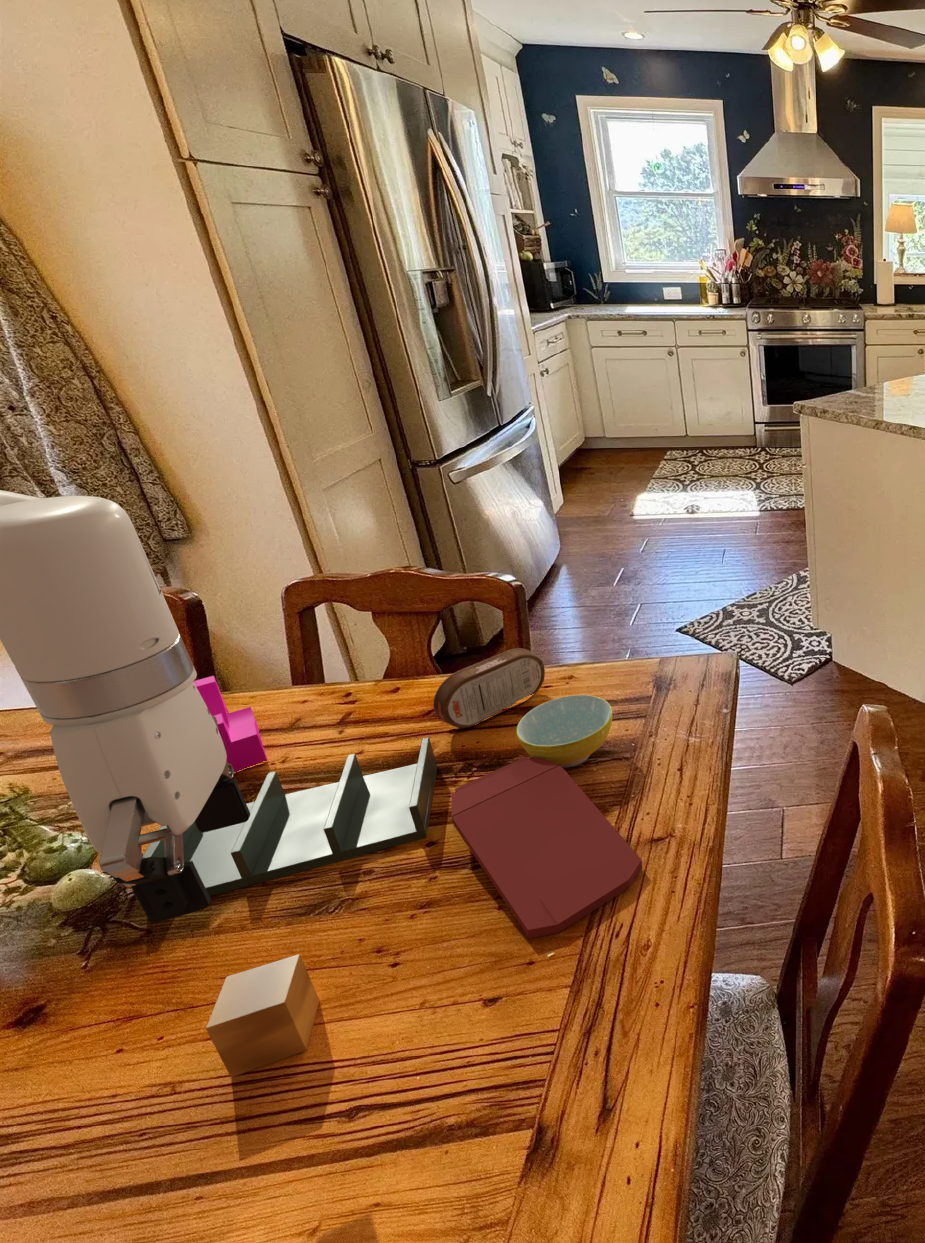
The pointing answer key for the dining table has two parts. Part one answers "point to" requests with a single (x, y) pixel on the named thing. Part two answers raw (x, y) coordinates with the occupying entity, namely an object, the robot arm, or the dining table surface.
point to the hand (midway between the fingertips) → (205, 865)
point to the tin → (488, 687)
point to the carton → (543, 844)
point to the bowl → (566, 729)
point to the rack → (313, 825)
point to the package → (263, 1015)
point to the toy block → (233, 727)
